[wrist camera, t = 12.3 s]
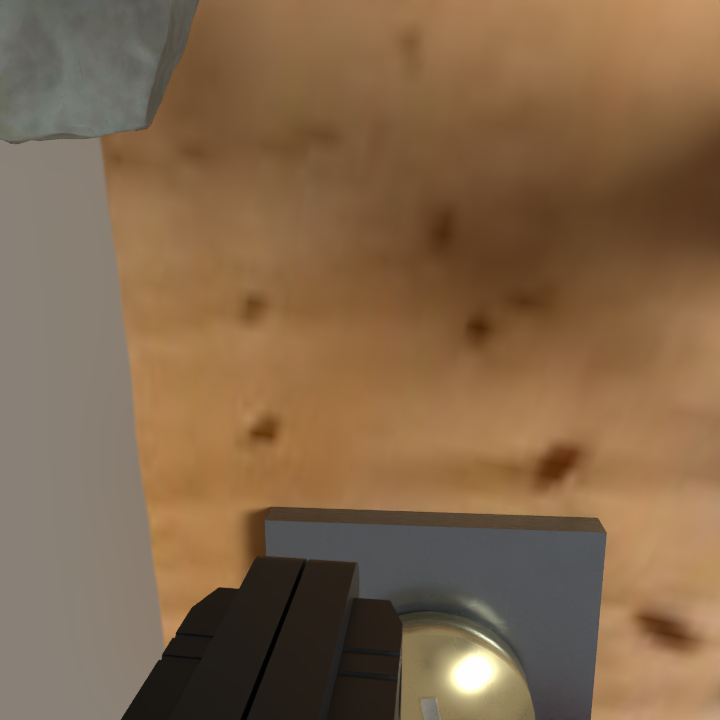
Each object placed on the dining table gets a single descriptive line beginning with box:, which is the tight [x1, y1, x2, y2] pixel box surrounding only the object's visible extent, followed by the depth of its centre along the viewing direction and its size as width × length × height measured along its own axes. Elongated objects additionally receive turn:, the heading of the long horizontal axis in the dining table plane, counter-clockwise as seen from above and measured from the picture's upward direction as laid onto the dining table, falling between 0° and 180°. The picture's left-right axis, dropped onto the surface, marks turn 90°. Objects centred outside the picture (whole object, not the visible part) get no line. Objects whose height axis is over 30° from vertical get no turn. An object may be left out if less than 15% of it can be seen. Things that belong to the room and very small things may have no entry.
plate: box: [264, 507, 607, 720], centre depth 44 cm, size 22×22×2 cm
